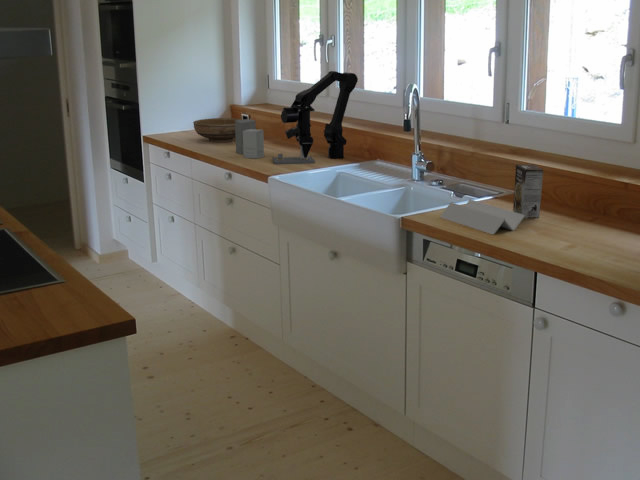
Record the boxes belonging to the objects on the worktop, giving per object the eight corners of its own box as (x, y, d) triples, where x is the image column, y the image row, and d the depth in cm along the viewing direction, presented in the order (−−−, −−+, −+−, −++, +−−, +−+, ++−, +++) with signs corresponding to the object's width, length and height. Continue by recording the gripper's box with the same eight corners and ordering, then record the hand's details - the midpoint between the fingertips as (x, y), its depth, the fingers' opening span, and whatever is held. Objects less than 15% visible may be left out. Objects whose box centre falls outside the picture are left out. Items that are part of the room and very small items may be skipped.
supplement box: (264, 156, 369) (264, 129, 365) (256, 158, 362) (256, 131, 359) (250, 155, 372) (250, 128, 368) (243, 157, 365) (242, 130, 362)
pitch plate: (311, 158, 363) (311, 151, 362) (314, 163, 352) (314, 155, 351) (272, 159, 361) (272, 151, 360) (274, 164, 349) (274, 156, 348)
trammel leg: (306, 157, 358) (306, 144, 356) (307, 158, 355) (307, 145, 353) (300, 157, 358) (300, 144, 356) (301, 158, 355) (301, 145, 353)
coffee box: (512, 211, 265) (515, 164, 261) (530, 210, 266) (534, 163, 261) (520, 218, 257) (524, 169, 252) (540, 217, 257) (543, 169, 253)
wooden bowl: (259, 143, 406) (258, 124, 403) (206, 147, 394) (205, 127, 391) (234, 134, 438) (234, 116, 435) (185, 137, 426) (184, 119, 423)
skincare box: (250, 151, 383) (249, 118, 379) (257, 153, 377) (256, 120, 373) (234, 152, 379) (233, 119, 374) (241, 154, 373) (240, 121, 369)
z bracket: (502, 246, 241) (492, 234, 238) (449, 228, 262) (439, 217, 258) (525, 215, 243) (515, 203, 240) (470, 200, 263) (460, 188, 260)
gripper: (283, 119, 360) (284, 153, 364) (288, 124, 342) (288, 160, 346) (308, 118, 361) (308, 152, 365) (313, 124, 343) (313, 159, 348)
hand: (304, 156), depth 356 cm, fingers open, 9 cm apart
